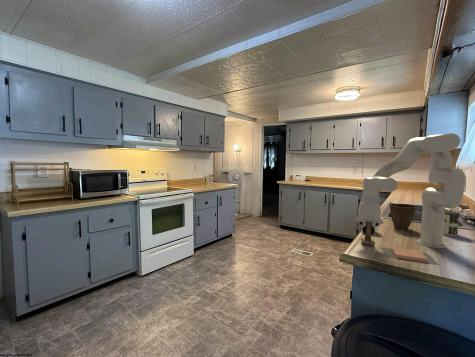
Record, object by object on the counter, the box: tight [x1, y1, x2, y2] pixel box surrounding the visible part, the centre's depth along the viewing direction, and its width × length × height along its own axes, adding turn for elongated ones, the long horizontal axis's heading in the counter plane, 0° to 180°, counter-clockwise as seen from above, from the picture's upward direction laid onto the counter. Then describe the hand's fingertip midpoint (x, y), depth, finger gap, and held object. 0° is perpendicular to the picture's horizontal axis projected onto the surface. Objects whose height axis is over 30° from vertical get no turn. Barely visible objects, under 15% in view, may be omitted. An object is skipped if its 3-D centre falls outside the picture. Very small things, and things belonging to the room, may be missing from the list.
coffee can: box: [443, 209, 461, 237], centre depth 151 cm, size 10×10×14 cm
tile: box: [390, 246, 428, 263], centre depth 112 cm, size 2×12×10 cm
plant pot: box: [389, 203, 417, 230], centre depth 160 cm, size 15×15×16 cm
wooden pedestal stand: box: [360, 222, 376, 246], centre depth 127 cm, size 6×6×14 cm
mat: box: [380, 246, 440, 266], centre depth 113 cm, size 14×20×1 cm
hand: (368, 233), depth 127 cm, fingers closed on wooden pedestal stand, 3 cm apart
